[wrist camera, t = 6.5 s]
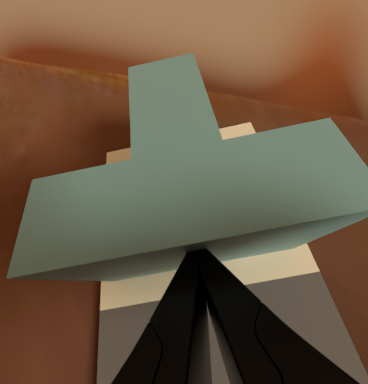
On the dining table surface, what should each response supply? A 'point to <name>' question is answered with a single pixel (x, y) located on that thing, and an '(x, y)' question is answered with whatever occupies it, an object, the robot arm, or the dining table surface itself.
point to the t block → (188, 190)
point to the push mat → (253, 279)
